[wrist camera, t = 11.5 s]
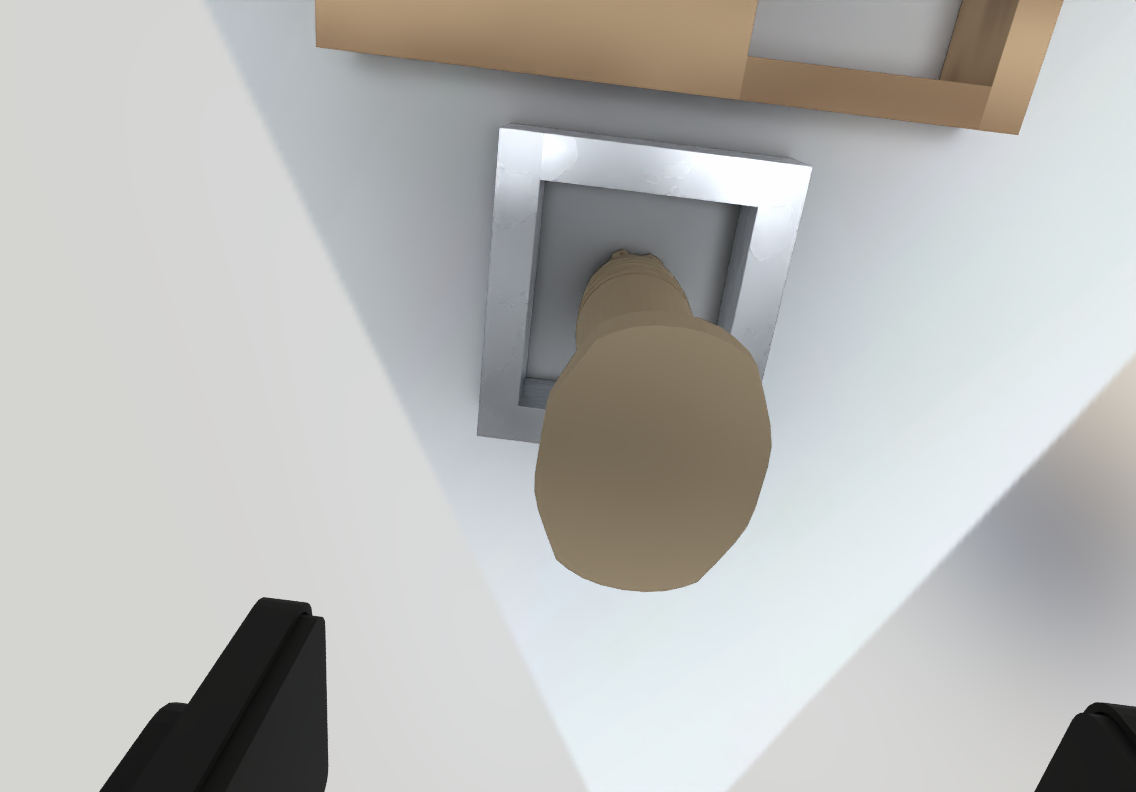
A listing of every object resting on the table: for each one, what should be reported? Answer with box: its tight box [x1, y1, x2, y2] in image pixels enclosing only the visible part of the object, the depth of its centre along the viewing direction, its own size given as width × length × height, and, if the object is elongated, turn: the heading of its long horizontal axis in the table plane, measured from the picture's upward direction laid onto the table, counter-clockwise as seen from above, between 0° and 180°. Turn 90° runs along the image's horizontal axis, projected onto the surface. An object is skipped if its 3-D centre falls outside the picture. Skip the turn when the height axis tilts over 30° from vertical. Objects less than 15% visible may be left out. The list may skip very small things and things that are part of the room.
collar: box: [477, 123, 813, 444], centre depth 28 cm, size 12×10×3 cm
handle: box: [535, 249, 771, 592], centre depth 23 cm, size 5×6×15 cm
